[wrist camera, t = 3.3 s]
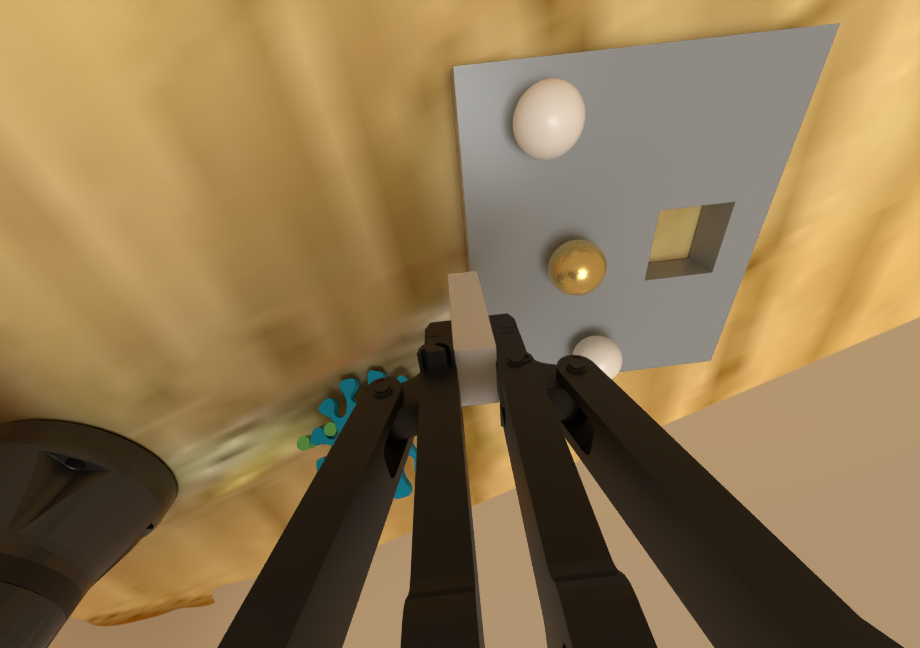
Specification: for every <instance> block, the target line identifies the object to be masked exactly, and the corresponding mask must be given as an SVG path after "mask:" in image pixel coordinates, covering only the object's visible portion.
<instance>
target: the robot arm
mask: <svg viewBox="0 0 920 648" xmlns="http://www.w3.org/2000/svg"><path fill="white" fill-rule="evenodd" d="M448 285H449V297H450V310H451V321H442V322H433V323H430V324H429V325H428V326H427V328H426V329H425V344H424V345H422V346H421V347H420V348H419V349H418V352H417V357H418V362H419V366H420V371H421V372H420V373H419V374H418V375H417V376H415V377H414V378H412V379H410V380H407V381H404V382H402V383H400V381H399V380H397V379H396V378H393V377H382V378H379V379H376V380H374V381H372V382H371V383H369V384H368V386H367V387H366V388H365V389H364V391H363V393H362V395H361V396H360V398H359V400H358V402H357V404H356V405H355V407H354V409H353V411H352V412H351V414H350V416H349V418H348V419H347V421H346V423H345V425H344V426H343V428H342V430H341V432H340V433H339V435H338V437H337V439H336V440H335V442H334V444H333V446H332V447H331V449H330V451H329V453H328V454H327V456H326V458H325V460H324V461H323V463H322V465H321V467H320V468H319V470H318V472H317V474H316V475H315V477H314V479H313V481H312V483H311V484H310V486H309V488H308V490H307V491H306V493H305V495H304V497H303V498H302V500H301V502H300V504H299V505H298V507H297V509H296V511H295V512H294V514H293V516H292V518H291V519H290V521H289V523H288V525H287V526H286V528H285V530H284V532H283V533H282V535H281V537H280V539H279V540H278V542H277V544H276V546H275V547H274V549H273V551H272V553H271V554H270V556H269V558H268V560H267V562H266V563H265V565H264V567H263V569H262V570H261V572H260V574H259V576H258V577H257V579H256V581H255V583H254V585H253V586H252V588H251V590H250V591H249V593H248V595H247V597H246V598H245V600H244V602H243V604H242V605H241V607H240V609H239V611H238V612H237V614H236V616H235V618H234V620H233V621H232V623H231V625H230V627H229V628H228V630H227V632H226V634H225V635H224V637H223V639H222V641H221V643H220V644H219V646H218V648H342V646H343V643H344V641H345V637H346V635H347V632H348V629H349V626H350V623H351V620H352V617H353V614H354V611H355V609H356V606H357V603H358V600H359V597H360V594H361V591H362V588H363V585H364V582H365V580H366V577H367V574H368V571H369V568H370V565H371V562H372V559H373V556H374V553H375V551H376V548H377V545H378V542H379V539H380V536H381V533H382V530H383V527H384V524H385V521H386V519H387V516H388V513H389V510H390V507H391V504H392V501H393V498H394V495H395V492H396V490H397V487H398V484H399V481H400V478H401V475H402V472H403V469H404V466H405V463H406V461H407V458H408V455H409V452H410V449H411V446H412V443H413V439H414V436H416V435H417V454H416V475H415V495H414V515H413V536H412V559H411V577H410V578H411V579H410V590H409V594H408V596H407V598H406V600H405V604H404V610H403V620H402V635H401V648H485V644H484V635H483V625H482V615H481V604H480V594H479V583H478V572H477V562H476V551H475V541H474V530H473V519H472V509H471V498H470V487H469V477H468V466H467V456H466V445H465V434H464V424H463V414H462V406H471V405H480V404H489V403H497V402H499V401H500V417H501V426H503V428H504V433H505V437H506V442H507V447H508V452H509V456H510V461H511V466H512V471H513V475H514V480H515V485H516V490H517V495H518V499H519V504H520V508H521V513H522V518H523V523H524V528H525V532H526V537H527V542H528V547H529V552H530V556H531V561H532V566H533V571H534V576H535V580H536V585H537V589H538V595H539V599H540V604H541V609H542V614H543V618H544V624H545V631H546V640H547V647H548V648H657V645H656V643H655V640H654V638H653V636H652V633H651V631H650V628H649V626H648V623H647V621H646V618H645V616H644V614H643V611H642V609H641V606H640V604H639V601H638V599H637V596H636V594H635V592H634V590H633V588H632V586H631V584H630V582H629V580H628V579H627V578H626V576H625V575H624V574H623V573H622V572H620V571H619V570H617V568H616V567H615V565H614V563H613V561H612V558H611V556H610V553H609V551H608V548H607V545H606V543H605V540H604V538H603V535H602V533H601V530H600V527H599V525H598V522H597V520H596V517H595V515H594V512H593V509H592V507H591V504H590V502H589V499H588V497H587V494H586V491H585V489H584V486H583V484H582V481H581V478H580V476H579V474H578V471H577V468H576V466H575V463H574V460H573V458H572V455H571V453H570V450H569V447H568V445H567V442H566V440H567V441H568V442H569V444H570V445H571V447H572V448H573V449H574V451H575V452H576V454H577V455H578V456H579V458H580V459H581V461H582V462H583V463H584V464H585V466H586V468H587V469H588V470H589V472H590V473H591V475H592V476H593V477H594V479H595V480H596V482H597V483H598V485H599V486H600V487H601V489H602V490H603V492H604V493H605V494H606V496H607V497H608V498H609V500H610V501H611V503H612V504H613V506H614V507H615V508H616V510H617V511H618V513H619V514H620V515H621V517H622V518H623V520H624V521H625V523H626V524H627V525H628V527H629V528H630V529H631V531H632V532H633V534H634V535H635V537H636V538H637V539H638V541H639V542H640V544H641V545H642V546H643V548H644V549H645V551H646V552H647V553H648V555H649V556H650V558H651V559H652V560H653V562H654V563H655V565H656V566H657V568H658V569H659V570H660V572H661V573H662V574H663V576H664V577H665V578H666V580H667V582H668V583H669V584H670V586H671V587H672V588H673V590H674V591H675V593H676V594H677V595H678V597H679V598H680V600H681V601H682V603H683V604H684V605H685V607H686V608H687V610H688V611H689V612H690V614H691V615H692V617H693V618H694V619H695V621H696V622H697V624H698V625H699V627H700V628H701V629H702V631H703V632H704V634H705V635H706V636H707V638H708V639H709V641H710V642H711V643H712V645H713V646H714V648H904V647H902V646H901V645H899V644H898V643H897V642H895V641H894V640H892V639H891V638H889V637H888V636H886V635H885V634H884V633H882V632H881V631H879V630H878V629H876V628H875V627H873V626H872V625H871V624H869V623H868V622H866V621H865V620H863V619H862V618H860V617H859V616H858V615H857V614H856V613H855V612H854V611H853V610H852V609H851V608H850V607H849V606H848V605H847V604H846V603H845V602H844V601H843V600H842V599H841V598H840V597H839V596H837V595H836V594H835V593H834V592H833V591H832V590H831V589H830V588H829V587H828V586H827V585H826V584H825V583H824V582H822V580H821V579H820V578H819V577H818V576H817V575H815V574H814V573H813V572H812V571H811V570H810V569H809V568H808V567H807V566H806V565H805V564H804V563H803V562H802V561H801V560H800V559H799V558H797V556H796V555H795V554H793V553H792V552H791V551H790V550H789V549H788V548H787V547H786V546H785V545H784V544H783V543H782V542H781V541H780V540H779V539H778V538H777V537H776V536H775V535H774V534H773V533H772V532H770V530H768V529H767V528H766V527H765V526H764V525H763V524H762V523H761V522H760V521H759V520H758V519H757V518H756V517H755V516H754V515H753V514H752V513H751V512H750V511H749V510H747V509H746V508H745V507H744V506H743V505H742V504H741V503H740V502H739V501H738V500H737V499H736V498H735V497H734V496H733V495H732V494H731V493H729V491H728V490H727V489H725V488H724V487H723V486H722V485H721V484H720V483H719V482H718V481H717V480H716V479H715V478H714V477H713V476H712V475H711V474H710V473H709V472H708V471H707V470H706V469H705V468H704V467H702V465H700V464H699V463H698V462H697V461H696V460H695V459H694V458H693V457H692V456H691V455H690V454H689V453H688V452H687V451H686V450H685V449H684V448H683V447H682V446H681V445H680V444H679V443H677V442H676V441H675V440H674V439H673V438H672V437H671V436H670V435H669V434H668V433H667V432H666V431H665V430H664V429H663V428H662V427H661V426H660V425H659V424H658V423H657V422H656V421H654V420H653V419H652V418H651V417H650V416H649V415H648V414H647V413H646V412H645V411H644V410H643V409H642V408H641V407H640V406H639V405H638V404H637V403H636V402H635V401H634V400H633V399H631V398H630V397H629V396H628V395H627V394H626V393H625V392H624V391H623V390H622V389H621V388H620V387H619V386H618V385H617V384H616V383H615V382H614V381H613V380H612V379H611V378H610V377H608V376H607V375H606V374H605V373H604V372H603V371H602V370H601V369H600V368H599V367H598V366H597V365H596V364H595V363H594V362H593V361H591V360H590V359H588V358H586V357H583V356H581V355H567V356H564V357H562V358H560V359H559V361H558V362H557V364H547V363H542V362H539V361H536V360H534V358H533V356H532V355H531V354H530V353H528V352H527V350H526V348H525V345H524V342H523V340H522V337H521V334H520V333H519V329H518V327H517V324H516V321H515V319H514V318H513V317H512V316H511V315H509V314H508V313H505V314H497V315H488V313H487V309H486V305H485V301H484V297H483V293H482V289H481V285H480V281H479V278H478V274H477V271H471V272H462V273H453V274H448ZM498 396H499V397H498ZM565 438H566V440H565ZM176 495H177V485H176V482H175V480H174V477H173V476H172V474H171V473H170V471H169V470H168V469H167V468H166V466H165V465H164V464H163V463H162V462H160V461H159V460H158V459H157V458H156V457H154V456H153V455H152V454H150V453H149V452H147V451H146V450H144V449H143V448H141V447H139V446H137V445H135V444H133V443H132V442H129V441H127V440H125V439H123V438H121V437H118V436H116V435H113V434H110V433H108V432H105V431H101V430H98V429H95V428H91V427H87V426H83V425H78V424H73V423H67V422H59V421H47V420H28V421H18V422H12V423H7V424H3V425H0V648H48V647H49V645H50V644H51V642H52V641H53V640H54V638H55V637H56V635H57V634H58V632H59V631H60V630H61V628H62V627H63V625H64V624H65V622H66V621H67V619H68V618H69V617H70V615H71V614H72V612H73V611H74V610H75V608H76V607H77V605H78V604H79V602H80V601H81V600H82V598H83V597H84V596H85V594H86V593H87V592H88V590H89V589H90V588H91V587H92V586H93V585H94V584H95V583H96V582H97V581H98V580H99V579H100V578H102V577H103V576H104V575H105V574H106V573H107V572H108V571H109V570H110V569H111V568H112V567H114V566H115V565H116V564H117V563H118V562H119V561H120V560H121V559H122V558H123V557H124V556H125V555H126V554H127V553H128V552H130V551H131V550H132V549H133V548H134V547H135V546H136V544H137V543H138V542H139V541H140V540H141V539H142V538H143V537H145V536H147V535H148V534H149V533H150V532H152V531H153V530H154V529H155V528H156V527H157V526H158V524H159V523H160V522H161V521H162V519H163V518H164V516H165V515H166V513H167V511H168V510H169V508H170V507H171V505H172V504H173V502H174V501H175V498H176Z"/></svg>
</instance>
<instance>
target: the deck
mask: <svg viewBox="0 0 920 648" xmlns="http://www.w3.org/2000/svg"><path fill="white" fill-rule="evenodd" d="M839 25H840V23H837V24H828V25H819V26H811V27H802V28H793V29H784V30H775V31H766V32H757V33H748V34H739V35H730V36H721V37H712V38H703V39H694V40H685V41H676V42H667V43H658V44H649V45H640V46H631V47H622V48H613V49H604V50H595V51H587V52H578V53H569V54H560V55H551V56H542V57H533V58H524V59H515V60H506V61H497V62H488V63H479V64H470V65H461V66H453V68H452V69H451V71H450V72H451V84H452V95H453V106H454V117H455V129H456V140H457V151H458V162H459V174H460V185H461V196H462V207H463V219H464V230H465V241H466V252H467V264H468V272H471V271H477V274H478V278H479V281H480V285H481V289H482V293H483V297H484V301H485V305H486V309H487V313H488V315H497V314H505V313H508V314H509V315H511V316H512V317H513V318H514V319H515V321H516V324H517V327H518V329H519V333H520V334H521V337H522V340H523V342H524V345H525V348H526V350H527V352H528V353H530V354H531V355H532V356H533V358H534V360H536V361H539V362H542V363H547V364H557V362H558V361H559V359H560V358H562V357H564V356H567V355H572V354H573V351H574V348H575V347H576V345H577V344H578V343H579V342H580V341H581V340H583V339H584V338H587V337H590V336H603V337H606V338H608V339H610V340H612V341H613V342H614V343H615V344H616V345H617V346H618V347H619V349H620V351H621V354H622V366H621V369H620V371H619V372H624V371H632V370H640V369H648V368H656V367H664V366H672V365H680V364H689V363H697V362H705V361H711V359H712V356H713V354H714V351H715V348H716V346H717V343H718V341H719V338H720V335H721V333H722V330H723V327H724V325H725V322H726V320H727V317H728V314H729V312H730V309H731V307H732V304H733V301H734V299H735V296H736V294H737V291H738V288H739V286H740V283H741V281H742V278H743V275H744V273H745V270H746V267H747V265H748V262H749V260H750V257H751V254H752V252H753V249H754V247H755V244H756V241H757V239H758V236H759V234H760V231H761V228H762V226H763V223H764V220H765V218H766V215H767V213H768V210H769V207H770V205H771V202H772V200H773V197H774V194H775V192H776V189H777V187H778V184H779V181H780V179H781V176H782V174H783V171H784V168H785V166H786V163H787V160H788V158H789V155H790V153H791V150H792V147H793V145H794V142H795V140H796V137H797V134H798V132H799V129H800V127H801V124H802V121H803V119H804V116H805V114H806V111H807V108H808V106H809V103H810V100H811V98H812V95H813V93H814V90H815V87H816V85H817V82H818V80H819V77H820V74H821V72H822V69H823V67H824V64H825V61H826V59H827V56H828V53H829V51H830V48H831V46H832V43H833V40H834V38H835V35H836V33H837V30H838V27H839ZM549 78H558V79H563V80H566V81H568V82H569V83H571V84H572V85H573V86H575V87H576V89H577V90H578V91H579V93H580V94H581V96H582V99H583V102H584V105H585V123H584V127H583V130H582V133H581V135H580V137H579V139H578V140H577V142H576V143H575V144H574V146H573V147H572V148H571V149H570V150H568V151H567V152H566V153H565V154H563V155H561V156H559V157H557V158H554V159H550V160H539V159H535V158H532V157H530V156H529V155H527V154H526V153H525V152H524V151H522V149H521V148H520V147H519V145H518V144H517V142H516V140H515V136H514V132H513V116H514V112H515V108H516V106H517V104H518V102H519V100H520V98H521V97H522V95H523V94H524V93H525V92H526V90H527V89H529V88H530V87H531V86H532V85H534V84H535V83H537V82H539V81H541V80H544V79H549ZM702 205H703V206H702ZM694 206H702V210H701V214H700V217H699V221H698V224H697V228H696V231H695V235H694V239H693V242H692V246H691V249H690V253H689V256H688V258H686V259H677V260H669V261H661V262H652V263H648V262H649V257H650V253H651V248H652V243H653V239H654V234H655V229H656V225H657V220H658V215H659V211H660V210H668V209H677V208H685V207H694ZM576 239H582V240H587V241H590V242H592V243H594V244H596V245H597V246H598V247H599V248H600V249H601V250H602V251H603V253H604V255H605V257H606V261H607V272H606V275H605V278H604V280H603V281H602V283H601V284H600V285H599V286H598V287H597V288H596V289H595V290H594V291H592V292H590V293H588V294H585V295H581V296H571V295H567V294H564V293H562V292H561V291H559V290H558V289H557V288H556V287H555V286H554V285H553V284H552V282H551V280H550V277H549V273H548V265H549V260H550V258H551V256H552V254H553V253H554V251H555V250H556V249H557V248H558V247H559V246H561V245H562V244H564V243H566V242H568V241H571V240H576Z"/></svg>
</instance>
